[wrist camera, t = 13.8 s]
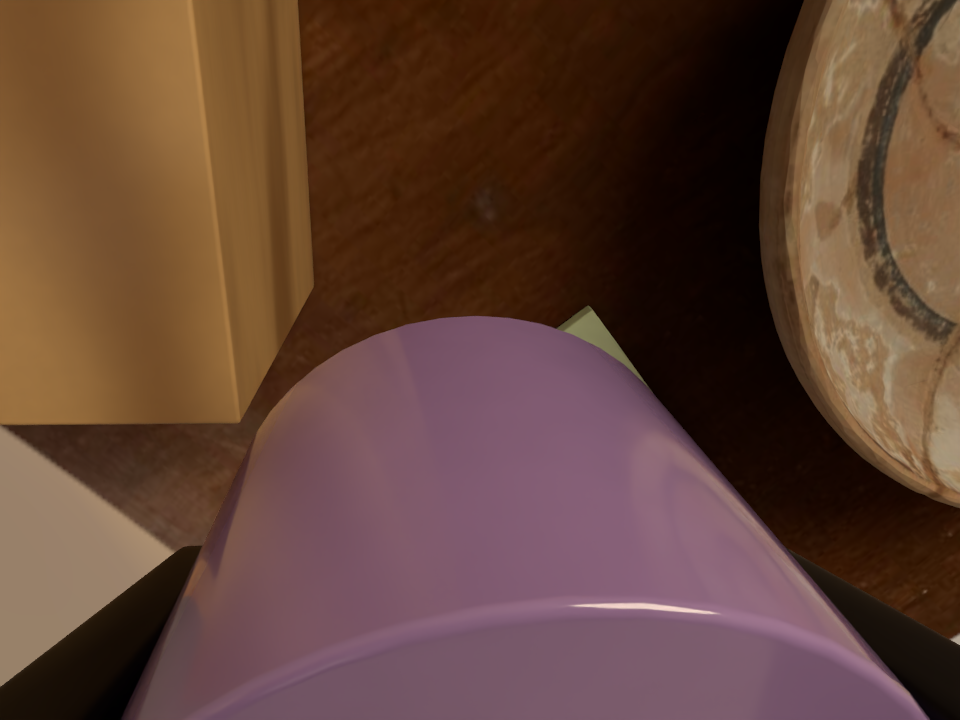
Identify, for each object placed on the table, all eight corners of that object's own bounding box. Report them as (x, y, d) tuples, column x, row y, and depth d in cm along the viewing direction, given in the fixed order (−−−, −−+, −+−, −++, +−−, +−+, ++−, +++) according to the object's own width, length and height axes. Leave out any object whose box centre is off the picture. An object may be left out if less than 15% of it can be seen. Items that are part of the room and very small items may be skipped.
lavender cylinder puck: (260, 703, 9) (130, 1215, 5) (202, 314, 7) (-130, 645, 3) (652, 676, 10) (836, 1104, 5) (721, 312, 7) (1124, 575, 3)
